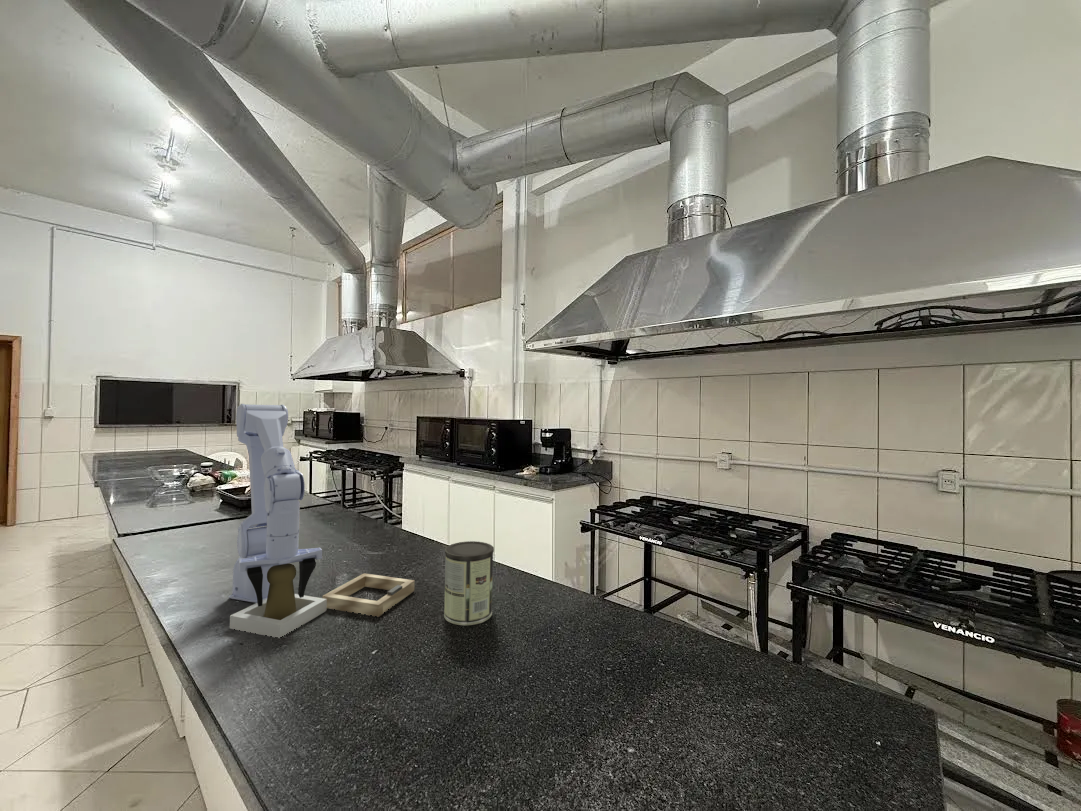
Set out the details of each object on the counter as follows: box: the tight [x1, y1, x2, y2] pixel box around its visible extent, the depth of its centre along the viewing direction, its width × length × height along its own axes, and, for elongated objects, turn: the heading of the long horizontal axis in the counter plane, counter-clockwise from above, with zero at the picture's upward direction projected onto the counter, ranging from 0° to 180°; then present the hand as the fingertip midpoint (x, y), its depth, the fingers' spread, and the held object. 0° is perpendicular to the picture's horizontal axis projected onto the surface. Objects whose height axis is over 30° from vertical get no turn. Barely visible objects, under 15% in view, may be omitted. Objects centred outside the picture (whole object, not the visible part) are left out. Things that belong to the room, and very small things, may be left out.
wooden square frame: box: [321, 573, 416, 618], centre depth 101 cm, size 14×14×3 cm
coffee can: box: [443, 540, 495, 626], centre depth 95 cm, size 10×10×14 cm
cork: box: [263, 563, 297, 620], centre depth 91 cm, size 6×6×11 cm
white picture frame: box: [229, 593, 328, 639], centre depth 91 cm, size 12×12×2 cm
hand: (280, 599), depth 91 cm, fingers open, 7 cm apart
